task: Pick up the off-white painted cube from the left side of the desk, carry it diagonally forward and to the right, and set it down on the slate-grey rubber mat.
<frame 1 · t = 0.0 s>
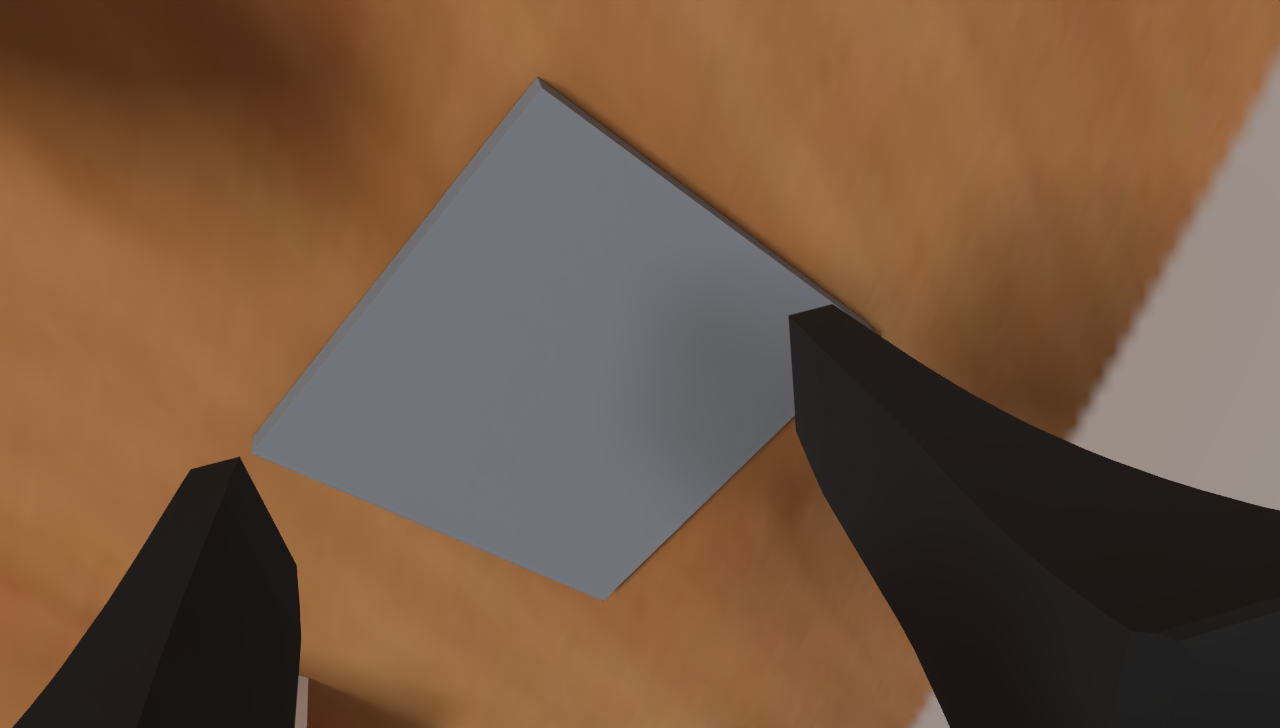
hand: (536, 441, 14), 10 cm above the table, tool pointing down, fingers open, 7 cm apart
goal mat: (573, 377, 26), on the table
cube: (182, 703, 30), on the table
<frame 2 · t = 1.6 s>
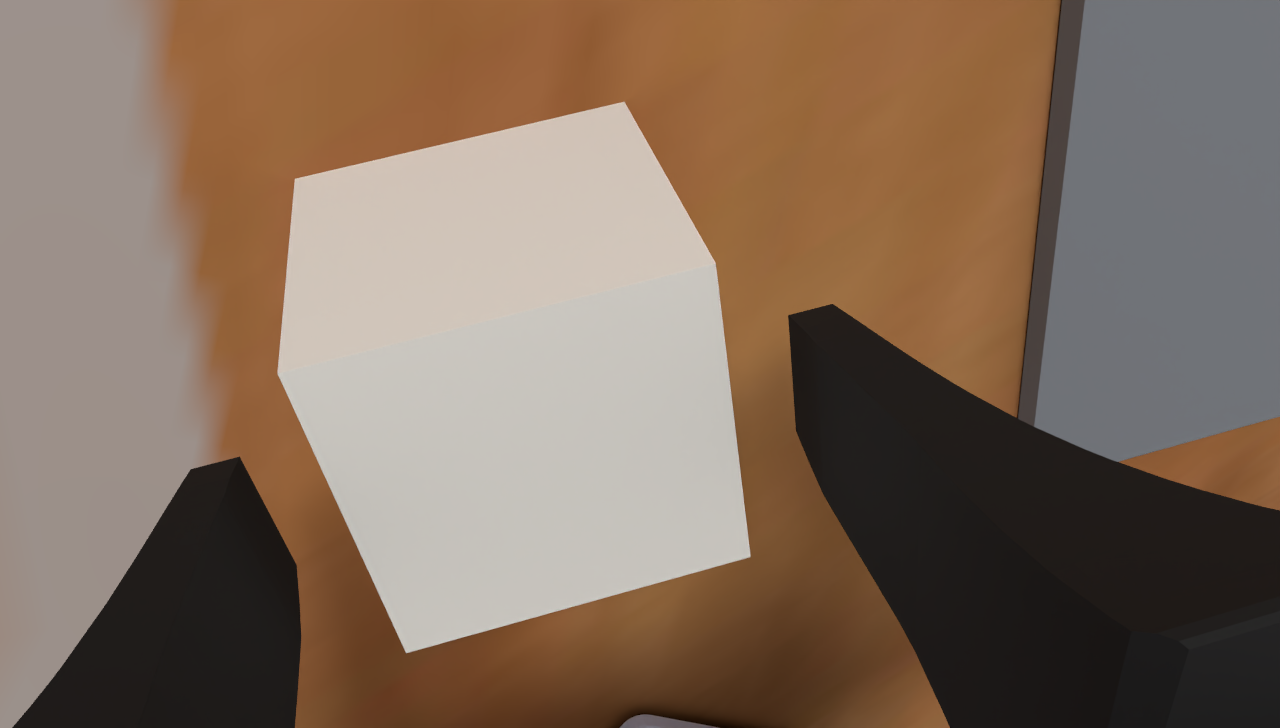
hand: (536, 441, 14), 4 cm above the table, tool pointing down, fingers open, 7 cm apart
cube: (499, 276, 17), on the table
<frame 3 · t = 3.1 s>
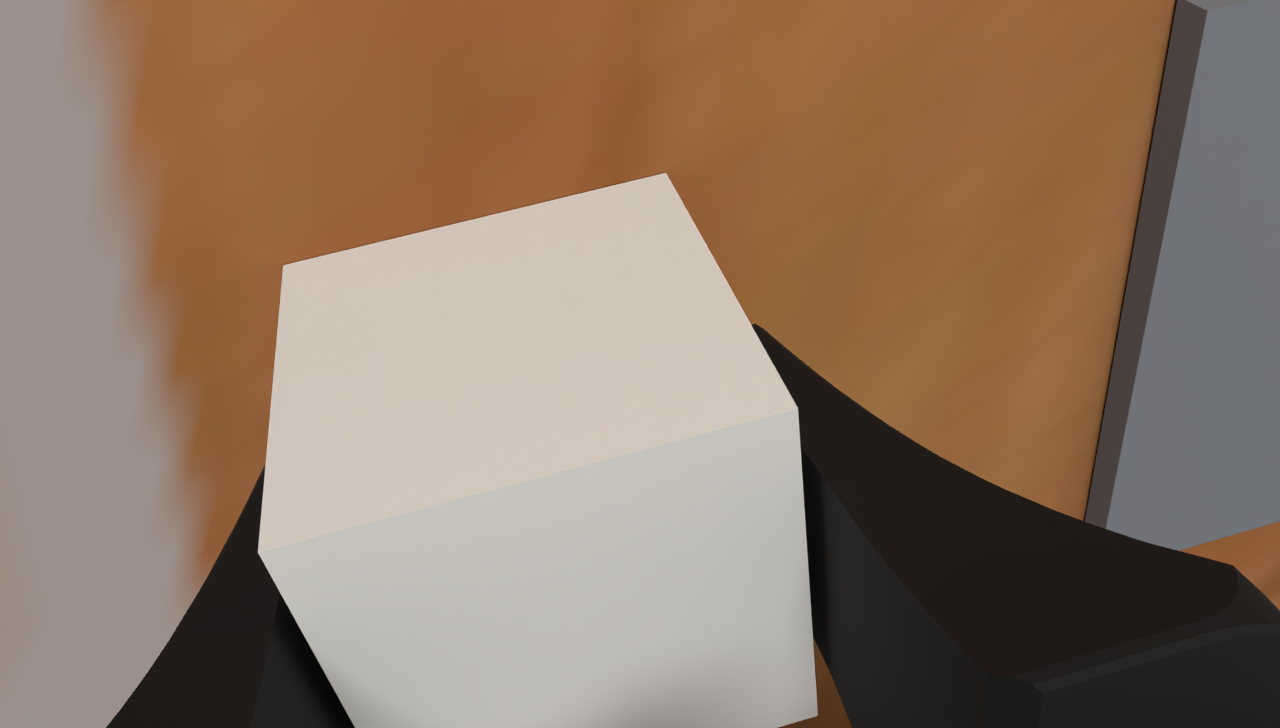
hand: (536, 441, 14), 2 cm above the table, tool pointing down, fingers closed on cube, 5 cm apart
cube: (519, 369, 15), on the table, touching gripper
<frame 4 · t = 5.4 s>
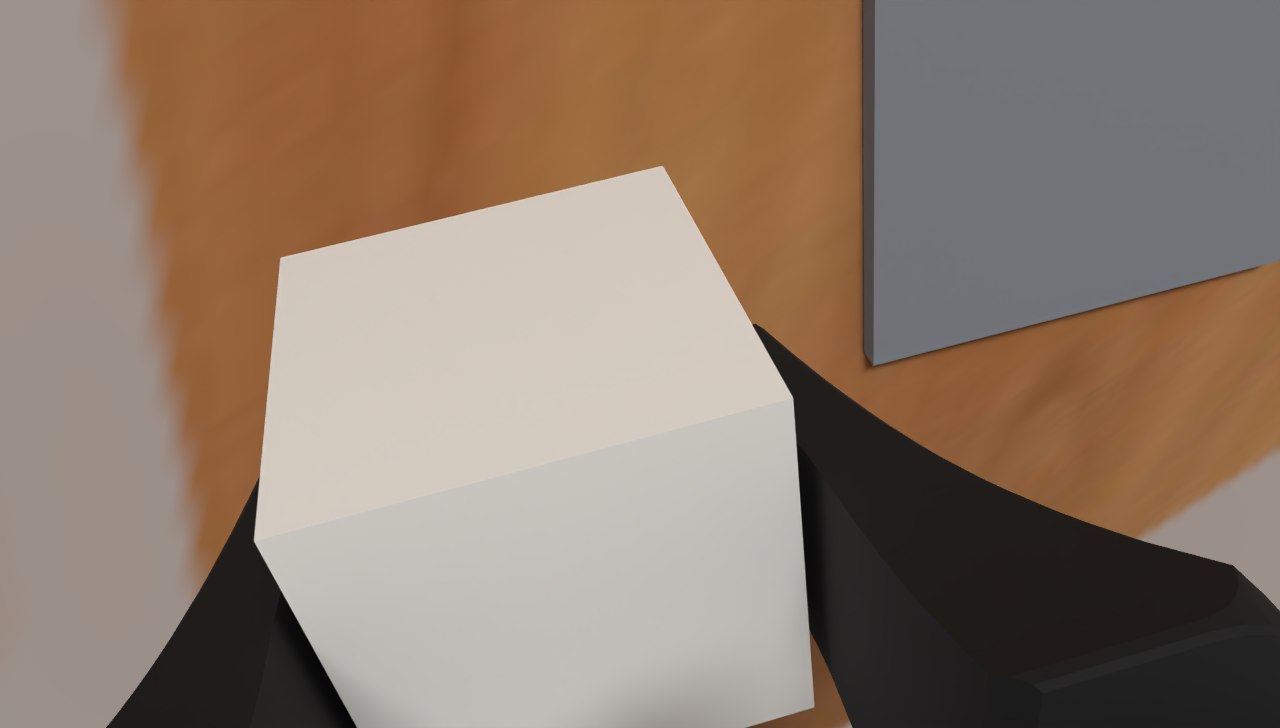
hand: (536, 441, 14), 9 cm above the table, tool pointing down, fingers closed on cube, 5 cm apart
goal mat: (1097, 97, 23), on the table
cube: (516, 362, 15), point 7 cm above the table, touching gripper
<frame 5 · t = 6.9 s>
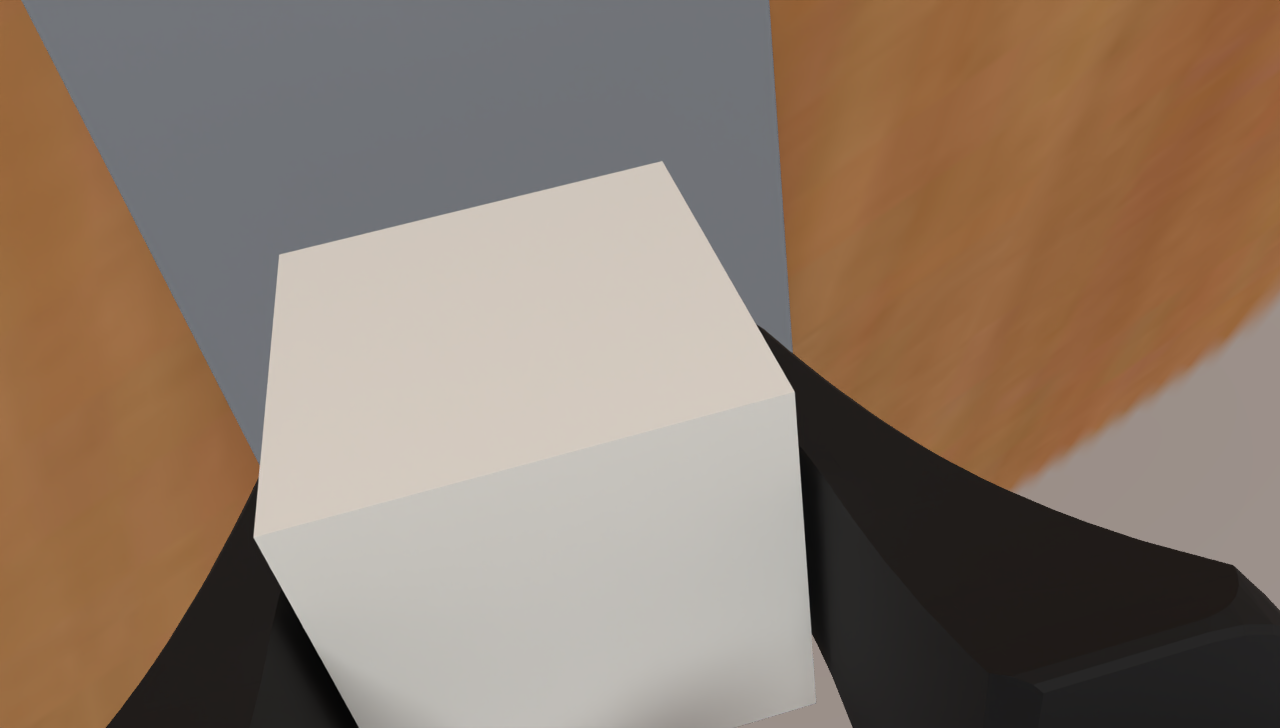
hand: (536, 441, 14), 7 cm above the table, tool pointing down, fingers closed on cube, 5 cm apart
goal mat: (480, 204, 19), on the table
cube: (516, 359, 15), point 5 cm above the table, touching gripper
when the fingers open (3 cm above the table, at t = 8.0 s): cube stays where it is, resting on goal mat.
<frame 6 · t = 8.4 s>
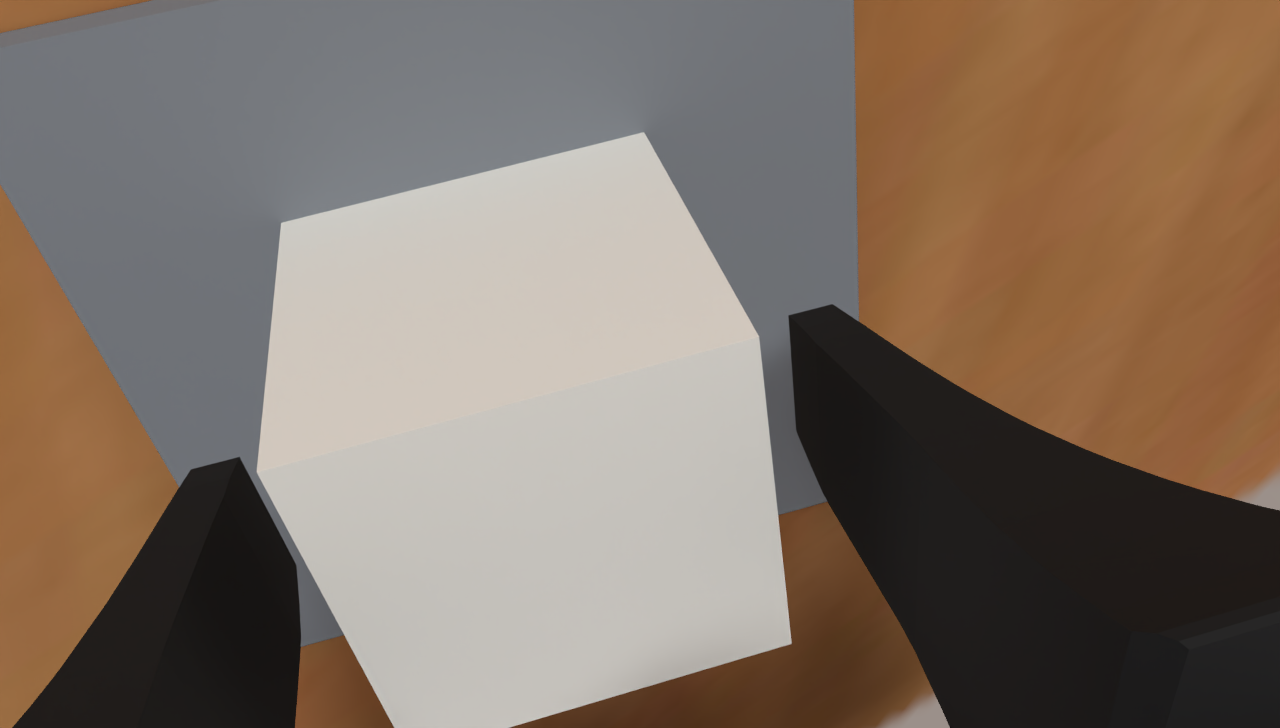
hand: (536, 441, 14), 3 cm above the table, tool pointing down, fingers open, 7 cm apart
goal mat: (506, 309, 16), on the table
cube: (508, 324, 16), point 1 cm above the table, touching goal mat
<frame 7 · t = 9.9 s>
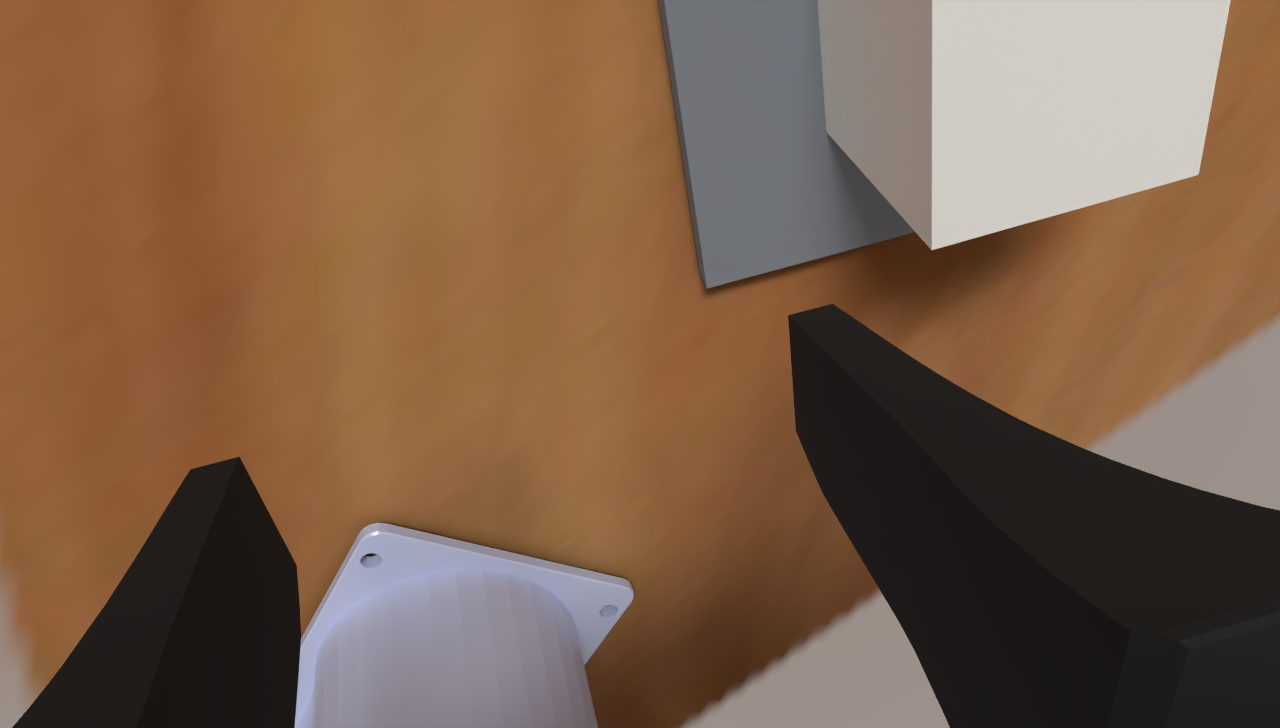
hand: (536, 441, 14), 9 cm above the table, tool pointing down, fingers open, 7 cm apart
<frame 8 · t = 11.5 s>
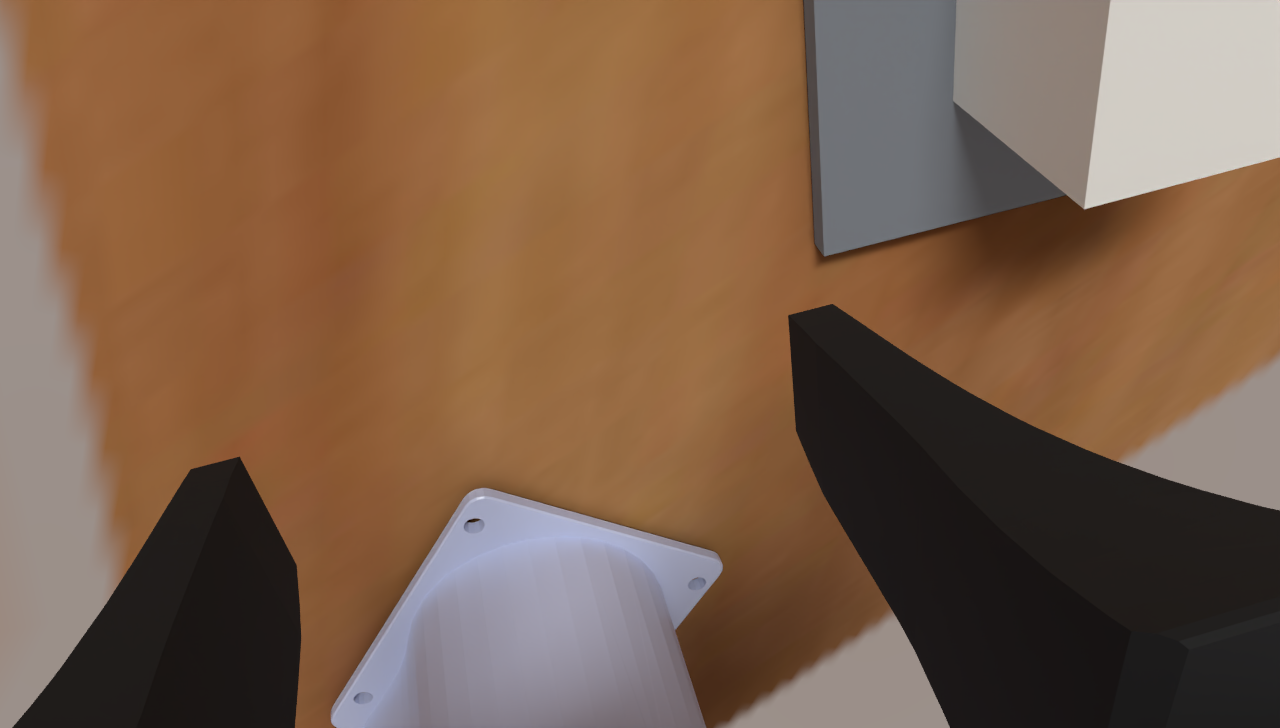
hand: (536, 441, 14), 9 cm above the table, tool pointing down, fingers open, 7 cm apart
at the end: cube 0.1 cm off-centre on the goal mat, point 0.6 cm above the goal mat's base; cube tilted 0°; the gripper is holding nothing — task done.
